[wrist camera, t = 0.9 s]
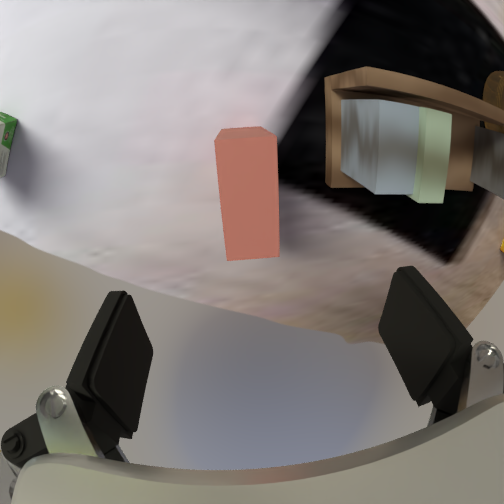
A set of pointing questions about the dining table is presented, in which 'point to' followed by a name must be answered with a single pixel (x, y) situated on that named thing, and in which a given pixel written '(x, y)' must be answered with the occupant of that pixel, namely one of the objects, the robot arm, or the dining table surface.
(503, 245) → the beverage box
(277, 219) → the salmon red block
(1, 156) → the ink box
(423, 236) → the dining table surface
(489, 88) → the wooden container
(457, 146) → the shelf
